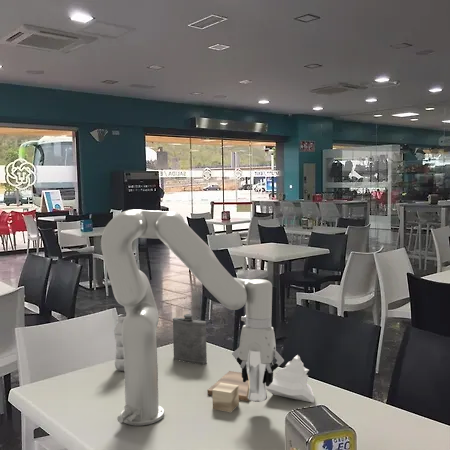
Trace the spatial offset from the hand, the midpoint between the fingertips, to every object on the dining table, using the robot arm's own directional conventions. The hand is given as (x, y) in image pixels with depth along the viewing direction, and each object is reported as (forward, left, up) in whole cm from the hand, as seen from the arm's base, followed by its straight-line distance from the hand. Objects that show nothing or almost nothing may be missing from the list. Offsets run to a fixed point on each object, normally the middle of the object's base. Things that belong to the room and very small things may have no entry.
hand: (257, 382), depth 151 cm
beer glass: (0, 0, -5) cm, 5 cm away
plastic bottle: (+15, +57, -9) cm, 60 cm away
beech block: (0, +10, -9) cm, 14 cm away
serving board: (+15, +12, -9) cm, 22 cm away
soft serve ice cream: (+14, -6, -10) cm, 18 cm away
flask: (+32, +39, -9) cm, 52 cm away
